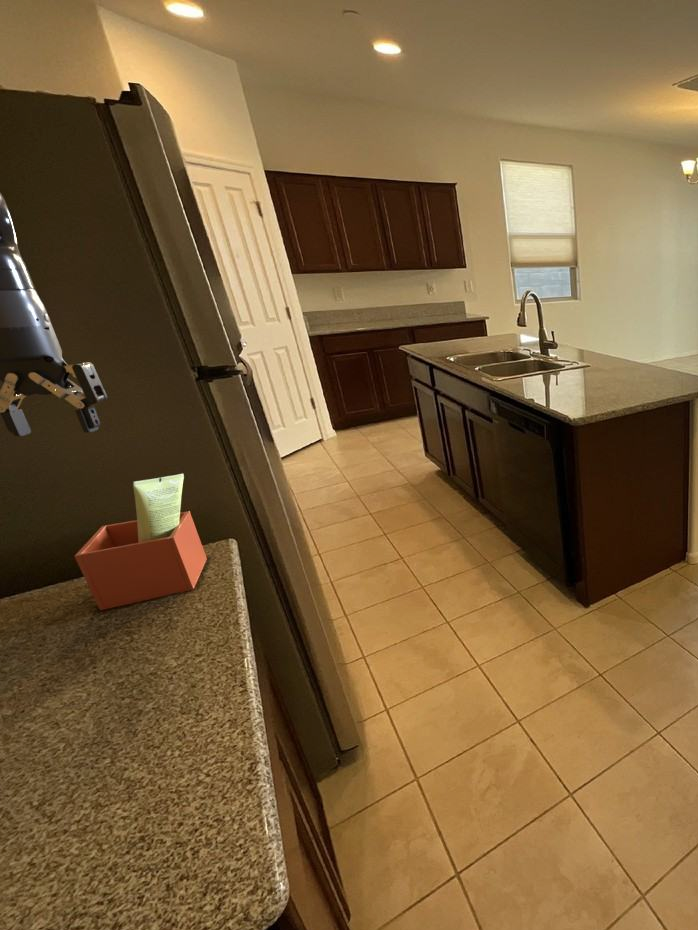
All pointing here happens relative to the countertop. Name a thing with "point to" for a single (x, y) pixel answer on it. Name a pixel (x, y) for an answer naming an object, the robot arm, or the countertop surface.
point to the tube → (158, 506)
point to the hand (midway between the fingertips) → (58, 433)
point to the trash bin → (140, 563)
